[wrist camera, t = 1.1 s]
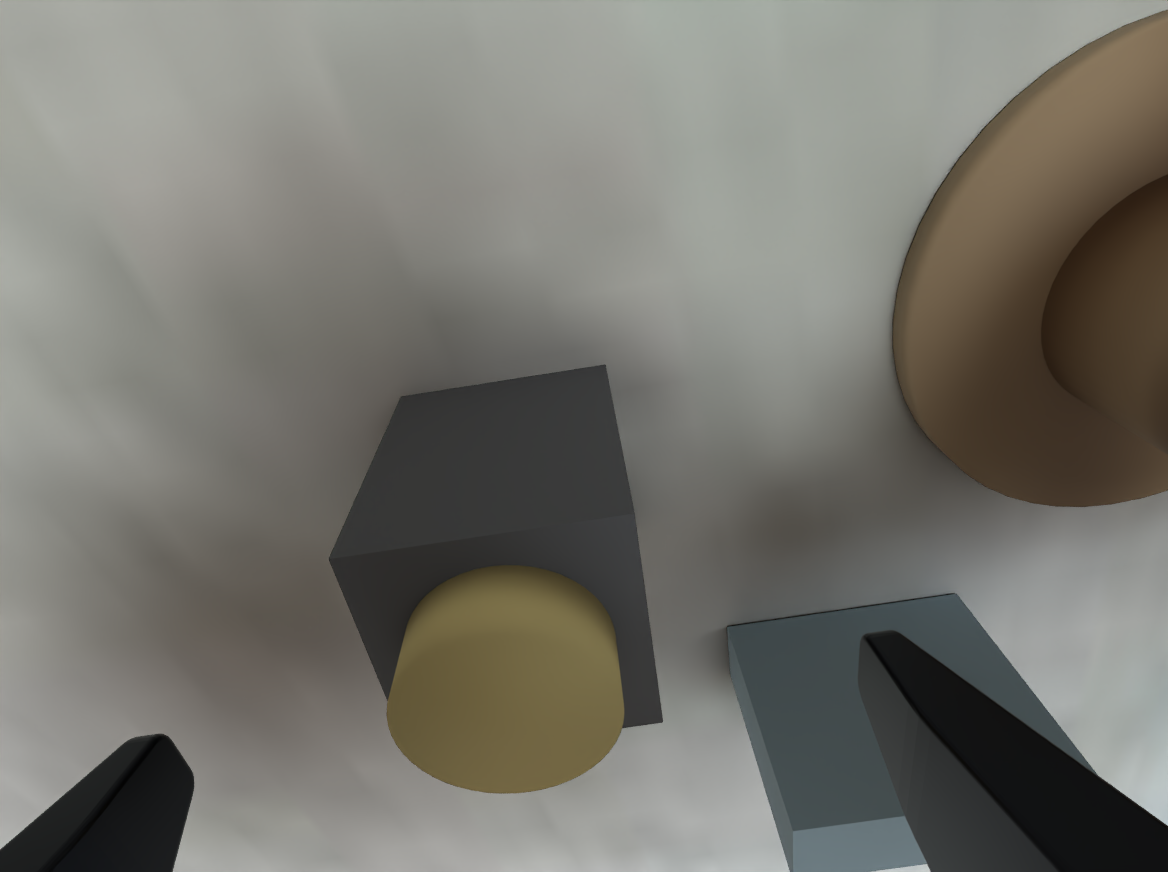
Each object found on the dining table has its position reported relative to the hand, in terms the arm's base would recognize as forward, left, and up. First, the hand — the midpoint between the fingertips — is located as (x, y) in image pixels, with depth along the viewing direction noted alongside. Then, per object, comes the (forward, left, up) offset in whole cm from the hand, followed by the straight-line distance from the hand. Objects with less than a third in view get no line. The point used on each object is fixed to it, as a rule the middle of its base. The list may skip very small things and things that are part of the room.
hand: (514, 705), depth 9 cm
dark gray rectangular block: (0, 0, -6) cm, 6 cm away
